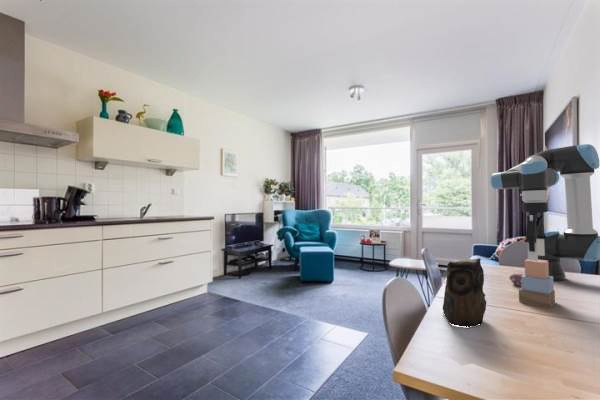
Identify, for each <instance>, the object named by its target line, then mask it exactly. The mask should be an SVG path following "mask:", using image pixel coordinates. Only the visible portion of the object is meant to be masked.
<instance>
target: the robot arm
mask: <svg viewBox="0 0 600 400" xmlns="http://www.w3.org/2000/svg"><path fill="white" fill-rule="evenodd" d="M599 168H600V158H599V154H598V151H597V148H595V146H593V144H589V143H587V144H585V143H584V144H574V145H569V146H563V147H556V148H550V149H546V150H541V151H540V152H537V153H534V154H533V155H531V156H528V157H527V158H525V160H524V161H523V162H521V163H519V164H518V165H515V166H514V167H511V168H510V169H508V170H506V171H500V172H495V173H492V174H491V177H490V184H491V187H492V189H494V190H509V189H511V190H512V189H521V193H520V194H519V196H520V197H521V200H522V204H521V209H522V210H521V211H522V212H523V213H529V214H527V216H526V232H525V233H526V235H525V239H524V243H527V244H526V245H527V259H528V260H533V261H538V260H547V261H548V267H549V276H551V277H553V281H565V280H566V279H567V277H566V273H565V270H564V268H563V266H562V264H561V259H569V260H576V261H584V262H597V261H599V260H600V235H599V232H598V231H597V230H596V229H594V225H593V224H594V223H593V222H594V221H593V207H592V206H593V205H592V190H591V176H592V175H594V174H595V170H597V169H599ZM560 177H562V178H563V179H564V191H565V207H566V224H567V228H566V229H565V230H563V233H562V234H561V232H560V231H559V230H555V231H554V230H553V231H552V230H551V231H545V227H544V226H545V225H544V219H543V218H544V217H543V216H544V215H543V214H542V213H548V212H549V206H548V202H547V201H548V198H549V197H548V188H550V187H553V186H556V184H558V182H559V180H560Z"/></svg>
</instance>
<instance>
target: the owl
mask: <svg viewBox="0 0 600 400" xmlns="http://www.w3.org/2000/svg"><path fill="white" fill-rule="evenodd" d="M484 272H485V271H484V268H483V267H482V264H481V258H479V257H477V258H472V259H464V260H463V259H460V260H456V261H449V262H448V263H447V266H446V273H445V274H446V275H445V276H446V278H445V279H446V280H445V281H446V282H445V289H444V296H443V303H442V304H443V305H442V311H443V312H442V314H443V313H444V314H445V315H444V314H443V315H444V317H445V316H446V317H447V318H446V317H445V318H446V320H447V319H448V320H449V321H448V323H449V322H450V323H451V324H454V325H459V326H466V327H467V326H468V327H470V326H476V325H478V324H480V325H478V326H482V325H483V324H484V322H483V321H484V316H485V312H486V310H487V300H486V294H485V292H484V288H483V287H484V284H485V283H484V282H485V274H484ZM481 324H482V325H481ZM476 327H477V326H476Z"/></svg>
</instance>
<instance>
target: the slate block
mask: <svg viewBox="0 0 600 400" xmlns="http://www.w3.org/2000/svg"><path fill="white" fill-rule="evenodd" d="M523 274H524V275H523V276H521V287H522V290H527V291H533V292H538V293H544V294H550V293H551V292H552V291H553V290H555V289H554V288H555V287H554V280H553V277H551V276H549V277H548V278H547V279H540V278H533V277H526V276H525V273H523Z"/></svg>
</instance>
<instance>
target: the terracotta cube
mask: <svg viewBox="0 0 600 400" xmlns="http://www.w3.org/2000/svg"><path fill="white" fill-rule="evenodd" d="M524 274H525V276H526V277H533V278H540V279H547V278H548V277H549V267H548V261H547V260H538V261H533V260H528V258H527V259H525V260H524Z"/></svg>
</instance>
